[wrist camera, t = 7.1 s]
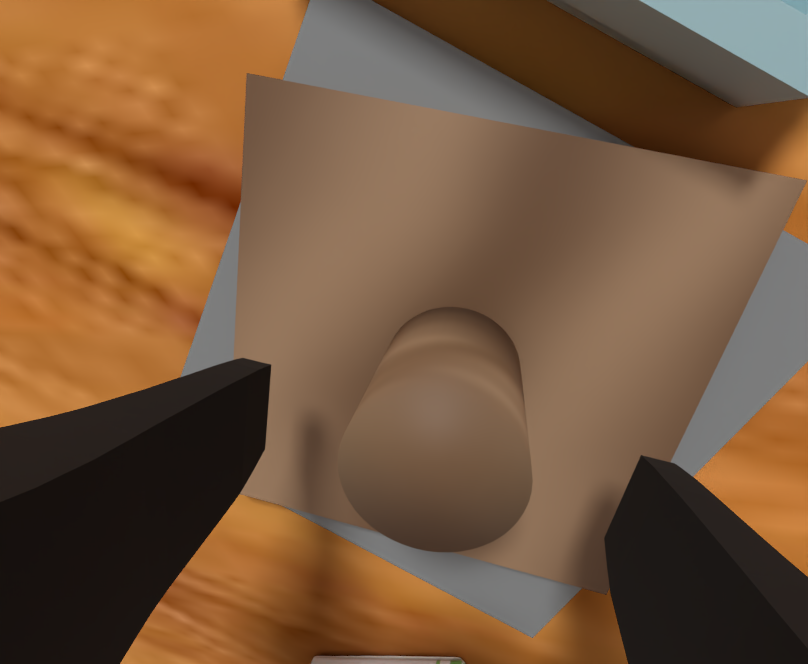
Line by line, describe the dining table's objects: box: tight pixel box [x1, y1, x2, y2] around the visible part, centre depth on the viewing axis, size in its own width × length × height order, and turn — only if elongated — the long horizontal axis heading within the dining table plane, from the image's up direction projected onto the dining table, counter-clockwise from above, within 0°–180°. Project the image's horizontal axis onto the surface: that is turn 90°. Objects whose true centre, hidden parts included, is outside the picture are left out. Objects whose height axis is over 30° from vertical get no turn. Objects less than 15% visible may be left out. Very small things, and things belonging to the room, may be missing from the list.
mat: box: [181, 0, 808, 638], centre depth 13 cm, size 13×13×1 cm
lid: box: [234, 73, 807, 595], centre depth 10 cm, size 11×11×5 cm
